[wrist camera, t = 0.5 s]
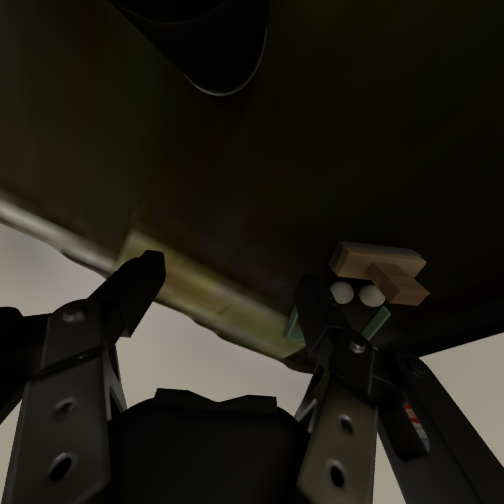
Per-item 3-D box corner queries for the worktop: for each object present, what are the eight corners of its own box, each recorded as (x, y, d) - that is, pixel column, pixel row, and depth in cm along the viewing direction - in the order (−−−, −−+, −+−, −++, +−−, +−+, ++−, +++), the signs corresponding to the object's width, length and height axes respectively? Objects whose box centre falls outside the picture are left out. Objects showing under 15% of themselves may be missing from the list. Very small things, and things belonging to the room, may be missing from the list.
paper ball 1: (330, 275, 33) (339, 291, 30) (350, 278, 33) (362, 293, 30) (323, 291, 35) (330, 307, 32) (342, 293, 36) (351, 309, 32)
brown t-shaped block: (338, 240, 29) (371, 278, 21) (411, 249, 30) (470, 288, 22) (327, 264, 32) (353, 306, 24) (395, 272, 33) (442, 315, 25)
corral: (297, 297, 36) (299, 305, 35) (385, 306, 38) (391, 314, 36) (284, 331, 42) (285, 339, 41) (360, 338, 44) (364, 345, 42)
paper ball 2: (360, 279, 34) (373, 294, 30) (380, 281, 34) (394, 297, 31) (351, 294, 36) (362, 310, 32) (370, 296, 36) (382, 312, 33)
